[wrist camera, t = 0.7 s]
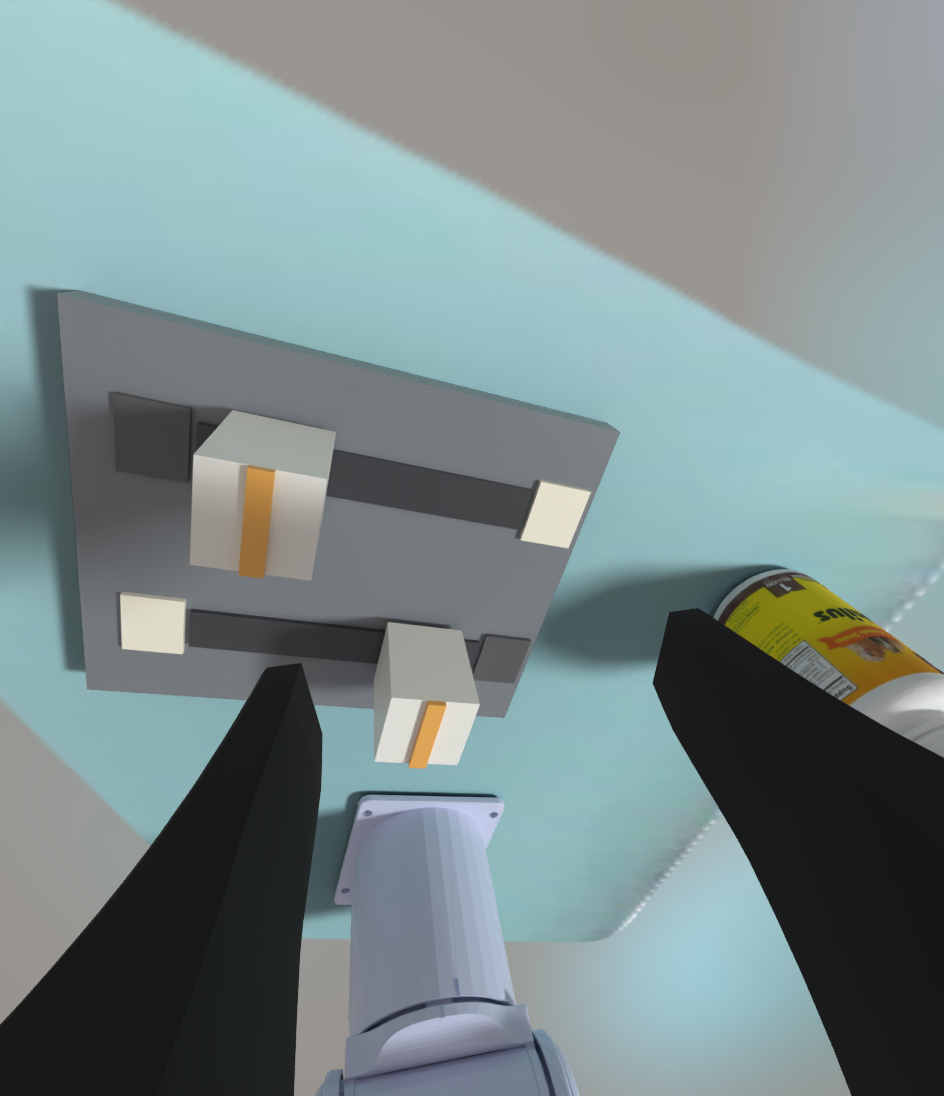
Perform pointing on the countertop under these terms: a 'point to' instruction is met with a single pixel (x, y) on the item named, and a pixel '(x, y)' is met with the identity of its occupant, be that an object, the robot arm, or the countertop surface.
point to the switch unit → (348, 518)
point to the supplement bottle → (839, 652)
